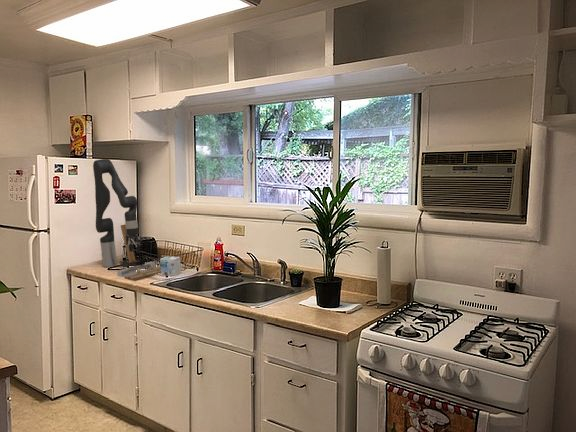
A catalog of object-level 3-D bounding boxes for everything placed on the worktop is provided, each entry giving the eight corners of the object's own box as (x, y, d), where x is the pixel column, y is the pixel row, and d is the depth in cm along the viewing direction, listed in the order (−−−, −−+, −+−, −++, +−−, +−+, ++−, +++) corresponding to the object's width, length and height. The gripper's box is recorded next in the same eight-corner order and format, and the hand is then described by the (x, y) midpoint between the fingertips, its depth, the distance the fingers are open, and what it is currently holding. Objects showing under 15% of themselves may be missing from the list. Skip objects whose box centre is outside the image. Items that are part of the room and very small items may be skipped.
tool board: (124, 278, 296) (123, 271, 295) (161, 267, 316) (160, 261, 316) (135, 281, 288) (134, 273, 288) (172, 270, 309) (171, 263, 308)
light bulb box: (161, 275, 297) (159, 258, 295) (166, 272, 303) (165, 256, 302) (176, 276, 294) (174, 259, 292) (181, 273, 300) (180, 256, 298)
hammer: (121, 270, 326) (111, 227, 325) (127, 268, 330) (117, 226, 329) (139, 267, 315) (129, 223, 313) (145, 265, 319) (135, 222, 317)
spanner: (117, 276, 303) (117, 270, 302) (151, 266, 322) (150, 261, 321) (122, 277, 300) (121, 271, 299) (155, 267, 319) (155, 262, 318)
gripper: (120, 227, 308) (123, 252, 310) (132, 228, 299) (135, 254, 301) (130, 225, 313) (133, 249, 316) (143, 226, 304) (146, 251, 307)
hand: (134, 251), depth 308 cm, fingers open, 8 cm apart
